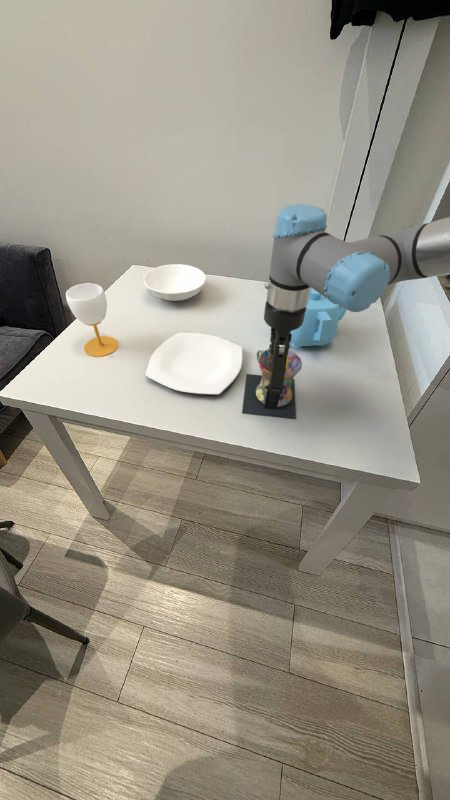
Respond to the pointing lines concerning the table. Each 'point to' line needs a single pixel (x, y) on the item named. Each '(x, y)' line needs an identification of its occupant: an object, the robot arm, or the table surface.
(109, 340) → the cup
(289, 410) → the left mat
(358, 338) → the table surface
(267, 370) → the mug
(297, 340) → the teapot
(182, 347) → the plate
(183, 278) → the bowl
